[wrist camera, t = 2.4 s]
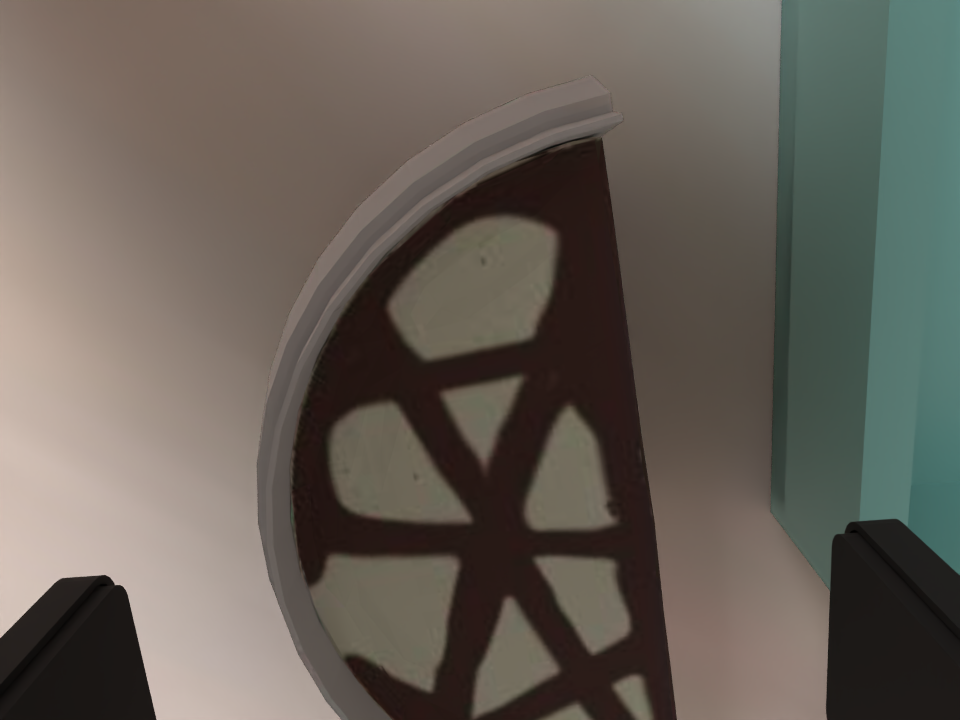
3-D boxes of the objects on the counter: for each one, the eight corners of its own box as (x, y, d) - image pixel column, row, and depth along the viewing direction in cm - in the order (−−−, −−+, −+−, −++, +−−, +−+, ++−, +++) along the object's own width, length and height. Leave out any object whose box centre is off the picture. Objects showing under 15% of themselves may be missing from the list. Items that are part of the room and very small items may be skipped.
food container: (290, 141, 19) (99, 163, 9) (545, 93, 19) (617, 64, 9) (397, 585, 22) (337, 931, 13) (612, 551, 22) (715, 879, 13)
